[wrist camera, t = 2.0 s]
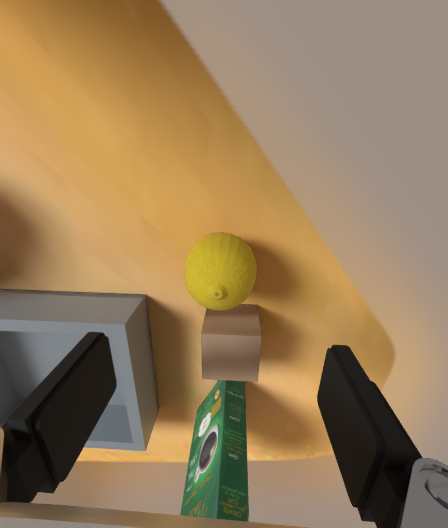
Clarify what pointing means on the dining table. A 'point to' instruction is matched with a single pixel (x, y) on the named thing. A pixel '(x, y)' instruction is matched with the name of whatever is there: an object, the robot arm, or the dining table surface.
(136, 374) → the tote
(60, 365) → the robot arm
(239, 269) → the lemon
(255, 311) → the walnut cube
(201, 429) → the coffee box
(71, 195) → the dining table surface
